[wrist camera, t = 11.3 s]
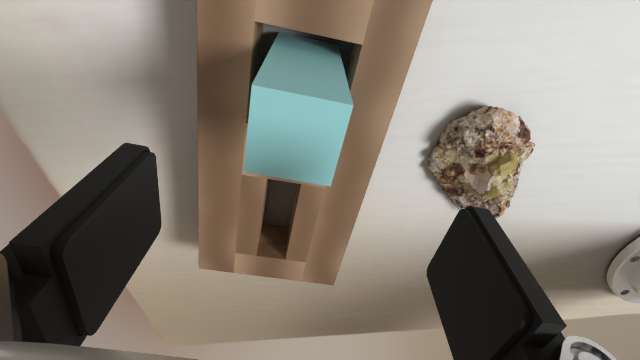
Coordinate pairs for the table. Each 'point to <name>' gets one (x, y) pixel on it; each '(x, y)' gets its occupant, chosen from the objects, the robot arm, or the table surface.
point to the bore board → (232, 123)
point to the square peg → (298, 111)
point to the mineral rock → (482, 158)
